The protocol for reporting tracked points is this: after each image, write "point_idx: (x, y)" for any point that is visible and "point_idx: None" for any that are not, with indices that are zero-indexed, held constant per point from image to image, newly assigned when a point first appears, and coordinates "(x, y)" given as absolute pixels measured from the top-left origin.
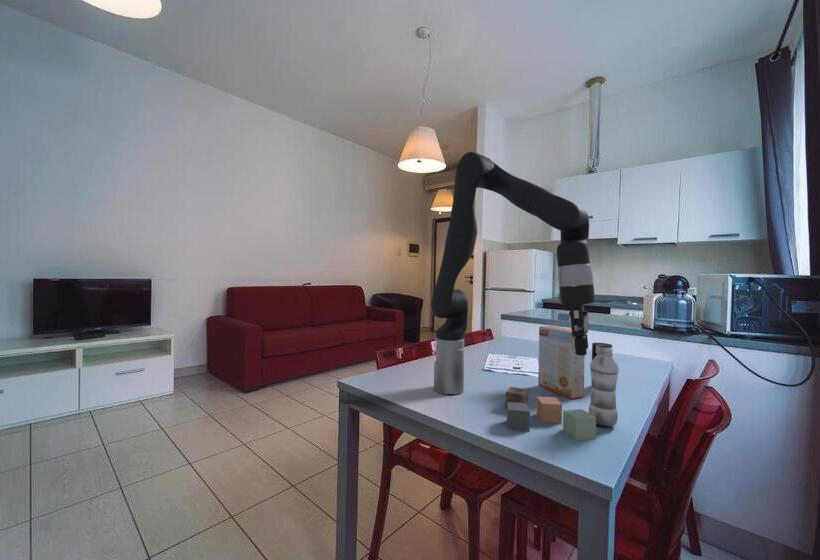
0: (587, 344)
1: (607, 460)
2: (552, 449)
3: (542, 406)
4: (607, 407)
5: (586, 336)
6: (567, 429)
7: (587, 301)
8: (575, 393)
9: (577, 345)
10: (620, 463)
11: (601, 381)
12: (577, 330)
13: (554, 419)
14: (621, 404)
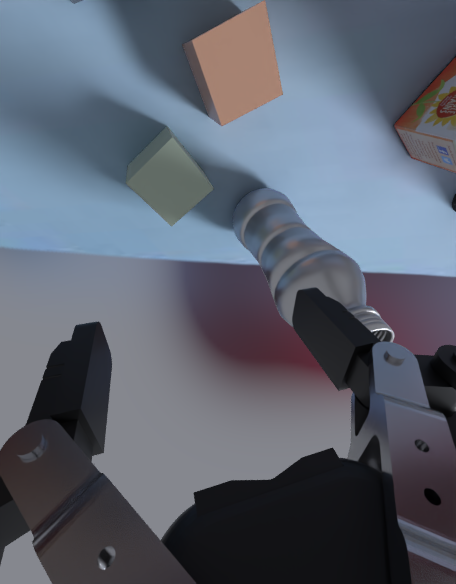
0: (303, 339)
1: (78, 233)
2: (13, 110)
3: (191, 44)
4: (246, 244)
5: (329, 375)
6: (153, 142)
7: None
8: (409, 140)
9: (42, 389)
10: (86, 252)
11: (270, 269)
12: (369, 376)
13: (202, 94)
14: (375, 234)
